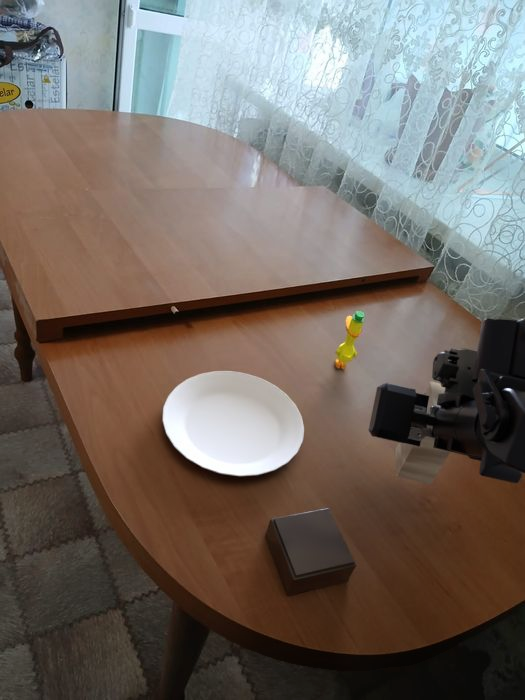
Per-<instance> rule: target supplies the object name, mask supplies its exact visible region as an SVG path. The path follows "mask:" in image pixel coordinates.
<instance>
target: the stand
mask: <svg viewBox="0 0 525 700" xmlns="http://www.w3.org/2000/svg"><path fill="white" fill-rule="evenodd" d="M264 536H265V539H266V542H267V545H268V547H269V550H270V554H271V555H272V559H273V561H274V565H275V567H276V569H277V573H278V575H279V577H280V580H281V583H282V585H283V590H284V591H285V595H286V596H287V597H289V596H294V595H297V594H302V593H305V592H310V591H315V590H318V589H321V588H326V587H330V586H333V585H337V584H338V585H339V584H342V583H346V582H349V580H350V579H351V577H352V575H353V573H354V571H355V569H356V567H357V564H356V562H355V559H354V557H353V555H352V553H351V551H350V549H349V547H348V545H347V543H346V541H345V539H344V537H343V534H342V532H341V531H340V528H339V526H338V524H337V522H336V520H335V518H334V516H333V514H332V512H331V510H330V508H329V507H327V508H320V509H316V510H311V511H305V512H300V513H294V514H290V515H289V514H288V515H284V516H279V517H274V518H270V519H269V523H268V526H267V528H266V532H265V534H264Z"/></svg>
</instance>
